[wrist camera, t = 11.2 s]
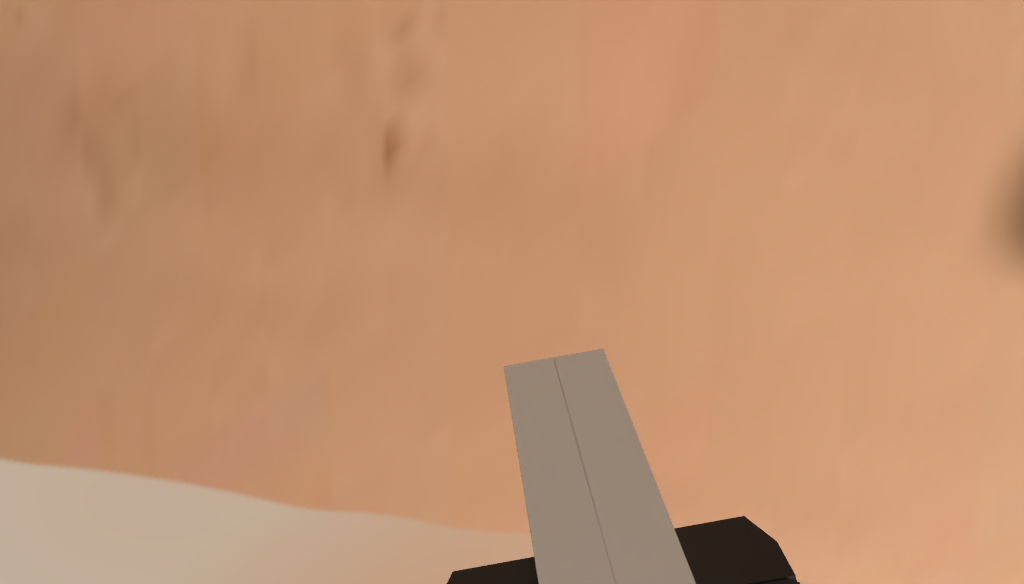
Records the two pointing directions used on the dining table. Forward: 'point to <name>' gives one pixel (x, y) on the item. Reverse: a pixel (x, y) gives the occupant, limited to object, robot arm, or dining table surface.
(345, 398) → the dining table surface
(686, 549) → the robot arm
